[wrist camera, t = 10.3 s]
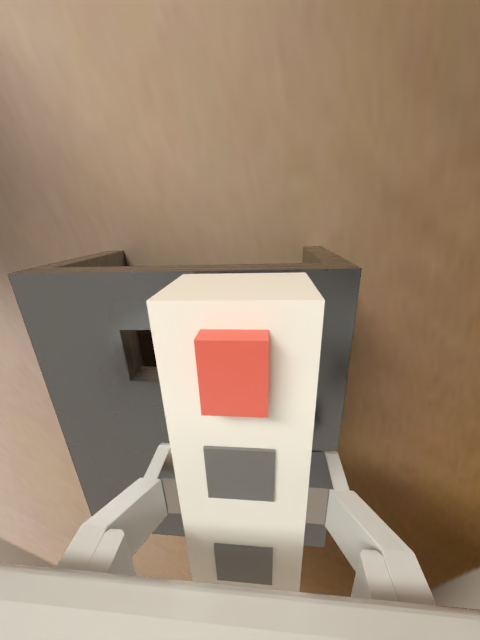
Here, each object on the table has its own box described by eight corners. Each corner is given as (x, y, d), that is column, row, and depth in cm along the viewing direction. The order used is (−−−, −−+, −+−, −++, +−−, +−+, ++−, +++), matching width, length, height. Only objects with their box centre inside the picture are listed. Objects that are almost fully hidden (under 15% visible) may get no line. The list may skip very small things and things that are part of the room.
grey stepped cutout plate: (321, 246, 15) (361, 268, 9) (306, 444, 21) (324, 547, 14) (107, 251, 17) (7, 273, 10) (146, 437, 22) (96, 529, 16)
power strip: (294, 255, 12) (331, 309, 5) (284, 490, 17) (296, 665, 11) (206, 257, 12) (134, 309, 6) (223, 486, 18) (198, 653, 11)
